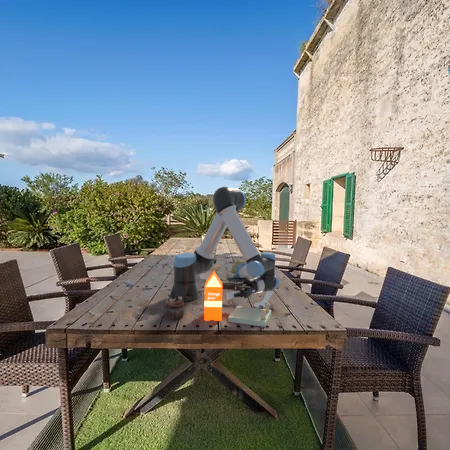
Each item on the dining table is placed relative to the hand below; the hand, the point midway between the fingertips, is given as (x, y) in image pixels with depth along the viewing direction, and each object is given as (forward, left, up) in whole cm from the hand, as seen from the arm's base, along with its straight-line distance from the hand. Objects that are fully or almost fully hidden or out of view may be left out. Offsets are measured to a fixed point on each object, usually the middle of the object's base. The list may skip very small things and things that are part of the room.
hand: (217, 292), depth 130 cm
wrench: (+16, +34, -12) cm, 39 cm away
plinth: (+14, +4, -11) cm, 18 cm away
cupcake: (-18, -7, -11) cm, 22 cm away
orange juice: (-2, -1, -11) cm, 11 cm away
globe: (-10, +80, -11) cm, 81 cm away
